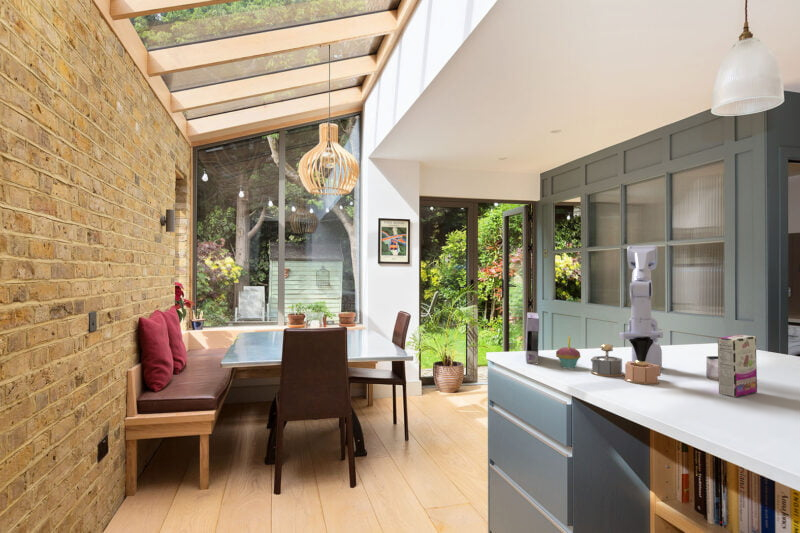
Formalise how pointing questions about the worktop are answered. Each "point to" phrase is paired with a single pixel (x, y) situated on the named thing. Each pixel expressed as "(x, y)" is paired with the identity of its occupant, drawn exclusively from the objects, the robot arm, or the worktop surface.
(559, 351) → the cupcake
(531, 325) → the cake pan box
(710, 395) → the worktop surface
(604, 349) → the brass-capped silver knob
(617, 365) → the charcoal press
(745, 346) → the candy bar box
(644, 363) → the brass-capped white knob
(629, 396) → the worktop surface
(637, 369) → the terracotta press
